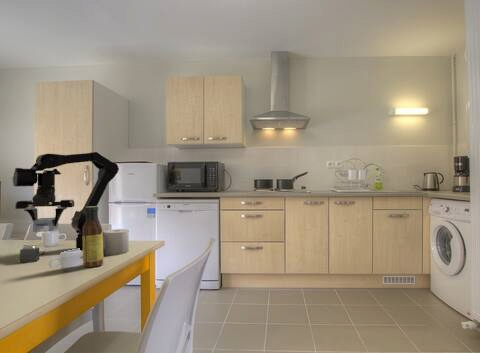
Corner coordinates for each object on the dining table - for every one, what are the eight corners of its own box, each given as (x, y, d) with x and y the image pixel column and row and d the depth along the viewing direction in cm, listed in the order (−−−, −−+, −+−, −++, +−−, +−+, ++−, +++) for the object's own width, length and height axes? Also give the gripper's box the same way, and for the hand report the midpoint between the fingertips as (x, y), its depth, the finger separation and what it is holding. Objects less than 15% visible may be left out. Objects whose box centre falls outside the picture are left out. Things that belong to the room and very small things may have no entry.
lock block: (58, 227, 125) (58, 217, 125) (52, 231, 116) (52, 219, 116) (40, 228, 123) (40, 218, 123) (33, 232, 114) (33, 220, 114)
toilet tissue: (95, 257, 114) (95, 234, 115) (109, 249, 128) (109, 229, 128) (119, 257, 115) (119, 234, 115) (131, 249, 128) (131, 228, 128)
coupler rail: (49, 252, 123) (49, 239, 123) (35, 262, 109) (35, 247, 109) (35, 253, 122) (35, 240, 122) (19, 263, 108) (19, 248, 108)
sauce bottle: (107, 263, 106) (107, 205, 106) (93, 268, 100) (93, 207, 100) (92, 262, 108) (92, 205, 108) (77, 267, 102) (77, 207, 103)
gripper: (9, 186, 109) (9, 230, 109) (68, 186, 115) (68, 228, 115) (21, 186, 120) (20, 226, 120) (74, 185, 126) (74, 224, 125)
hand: (46, 226), depth 120 cm, fingers closed on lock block, 6 cm apart
